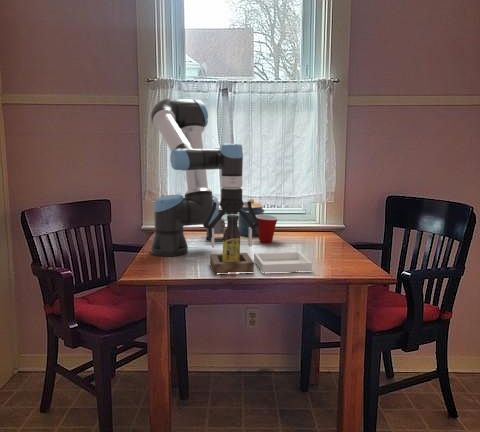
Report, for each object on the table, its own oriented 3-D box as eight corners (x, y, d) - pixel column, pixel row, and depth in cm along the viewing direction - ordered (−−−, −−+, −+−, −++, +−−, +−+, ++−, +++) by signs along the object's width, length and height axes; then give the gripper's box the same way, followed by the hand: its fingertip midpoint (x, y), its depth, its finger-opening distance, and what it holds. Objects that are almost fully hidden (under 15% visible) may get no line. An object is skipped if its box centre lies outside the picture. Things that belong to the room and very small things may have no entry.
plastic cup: (279, 244, 204) (280, 218, 202) (255, 244, 204) (256, 218, 201) (276, 238, 215) (276, 213, 213) (253, 239, 214) (253, 213, 212)
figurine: (226, 236, 220) (226, 205, 217) (225, 241, 209) (225, 209, 206) (207, 235, 220) (207, 204, 218) (205, 241, 209) (205, 208, 206)
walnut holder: (214, 275, 159) (214, 264, 158) (210, 264, 173) (210, 253, 172) (253, 273, 161) (253, 262, 161) (246, 262, 175) (246, 252, 174)
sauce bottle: (226, 272, 163) (226, 217, 159) (219, 267, 168) (219, 214, 165) (242, 270, 165) (243, 216, 162) (236, 265, 171) (236, 213, 167)
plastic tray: (262, 274, 161) (262, 264, 160) (253, 261, 176) (254, 253, 176) (311, 272, 164) (312, 262, 163) (298, 260, 179) (299, 251, 179)
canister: (256, 238, 216) (257, 201, 213) (232, 234, 223) (233, 199, 219) (268, 233, 228) (269, 197, 224) (245, 230, 234) (246, 195, 231)
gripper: (197, 189, 156) (197, 249, 160) (268, 188, 160) (267, 247, 164) (195, 187, 163) (196, 244, 167) (264, 186, 167) (263, 242, 171)
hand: (231, 246), depth 165 cm, fingers open, 13 cm apart
